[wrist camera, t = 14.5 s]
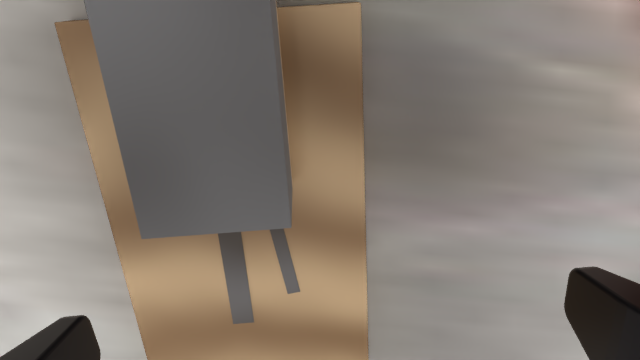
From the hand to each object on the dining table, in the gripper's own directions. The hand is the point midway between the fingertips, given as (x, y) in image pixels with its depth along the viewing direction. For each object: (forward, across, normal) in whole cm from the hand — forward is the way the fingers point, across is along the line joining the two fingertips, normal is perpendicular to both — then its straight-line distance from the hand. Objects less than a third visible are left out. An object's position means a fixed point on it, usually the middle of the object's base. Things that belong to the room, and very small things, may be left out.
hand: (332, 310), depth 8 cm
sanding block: (+10, +3, -2) cm, 11 cm away
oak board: (+12, +4, +4) cm, 13 cm away
